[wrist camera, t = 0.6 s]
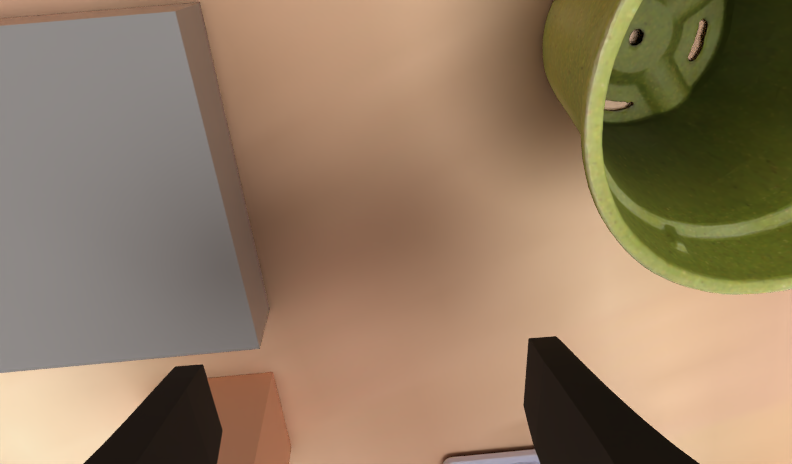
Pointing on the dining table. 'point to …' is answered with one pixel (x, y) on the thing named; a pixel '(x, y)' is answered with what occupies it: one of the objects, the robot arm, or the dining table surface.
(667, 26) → the plant pot
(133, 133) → the slate plinth
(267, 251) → the dining table surface
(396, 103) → the dining table surface
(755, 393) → the dining table surface
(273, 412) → the terracotta cube
